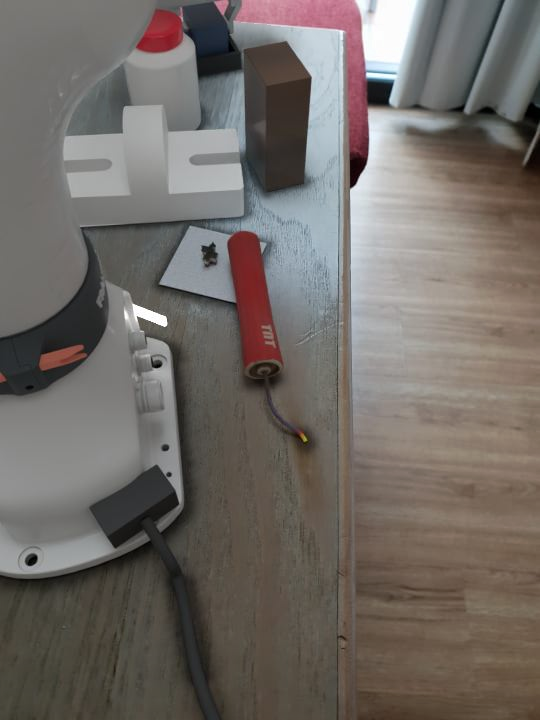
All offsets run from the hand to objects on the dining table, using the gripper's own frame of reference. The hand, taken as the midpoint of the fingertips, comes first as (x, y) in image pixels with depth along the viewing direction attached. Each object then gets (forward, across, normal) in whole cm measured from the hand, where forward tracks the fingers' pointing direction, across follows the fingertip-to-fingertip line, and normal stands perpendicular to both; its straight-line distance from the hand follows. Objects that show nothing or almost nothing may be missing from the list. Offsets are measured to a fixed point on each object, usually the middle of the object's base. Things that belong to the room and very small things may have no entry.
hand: (206, 36), depth 76 cm
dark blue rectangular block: (+1, 0, 0) cm, 1 cm away
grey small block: (+2, -10, -35) cm, 36 cm away
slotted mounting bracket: (+3, -13, -23) cm, 26 cm away
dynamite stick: (0, -6, -35) cm, 36 cm away
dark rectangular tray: (+2, 0, 0) cm, 3 cm away
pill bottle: (+3, -8, -11) cm, 14 cm away
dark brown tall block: (+2, 0, -24) cm, 24 cm away
